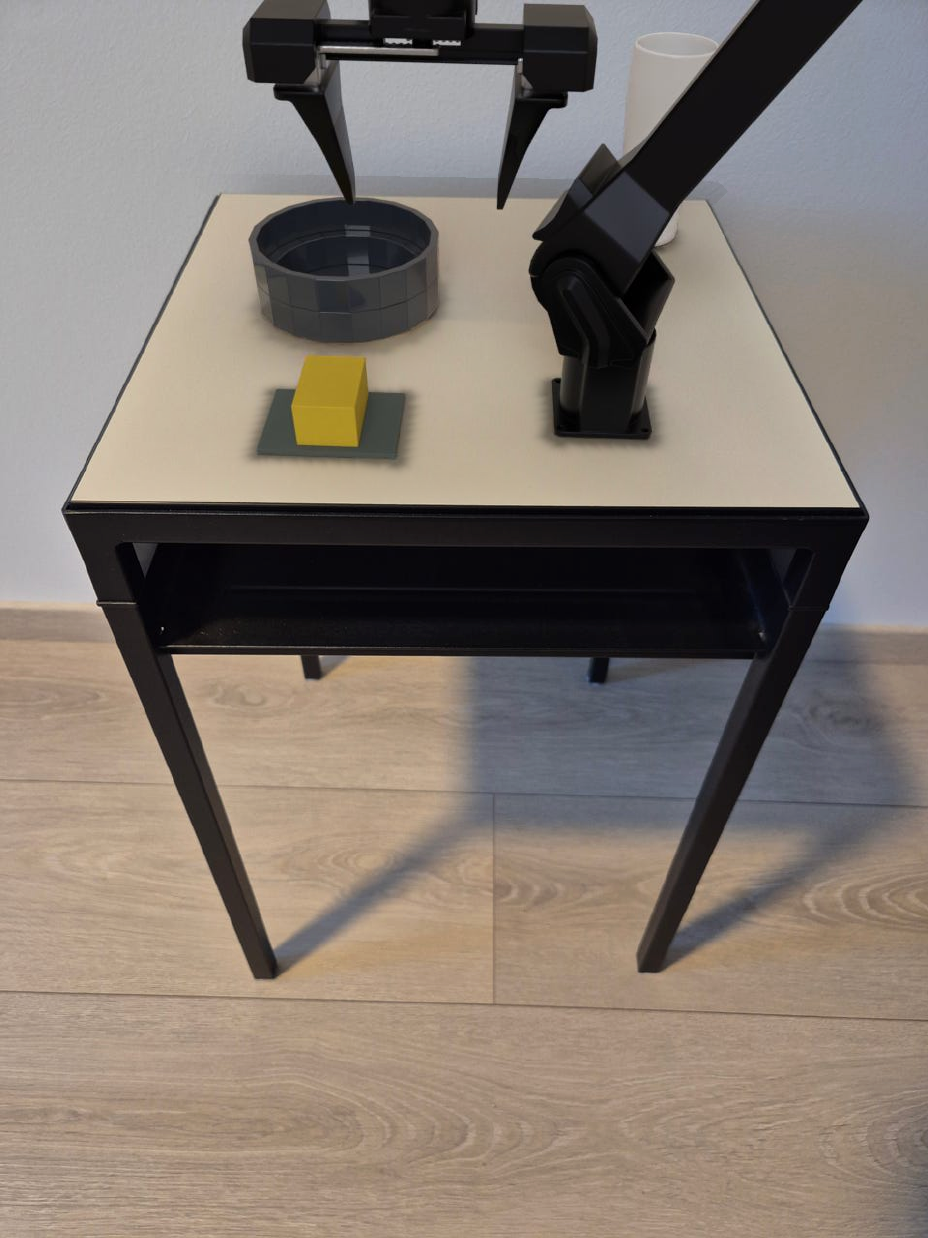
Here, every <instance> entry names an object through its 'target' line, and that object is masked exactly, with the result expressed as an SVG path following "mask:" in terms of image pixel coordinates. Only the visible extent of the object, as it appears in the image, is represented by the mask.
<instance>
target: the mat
mask: <svg viewBox="0 0 928 1238" xmlns="http://www.w3.org/2000/svg"><path fill="white" fill-rule="evenodd" d="M295 391H296V389H293V388H292V389H290V388H289V389H287V388H276V390H275V393H274V396H273V399H272V402H271V404H270V407H269V411H268V414H267V416H266V420H265V423H264V426H263V428H262V432H261V435H260V437H259V441H258V444H257V447H256V454H257V455H269V456H270V455H271V456H272V455H273V456H300V457H326V458H327V457H328V458H353V459H354V458H358V459H385V460H386V459H388V460H396V459H397V453H398V448H399V447H398V446H399V441H400V434H401V429H402V421H403V414H404V407H405V400H406V394H405V393H404V392H383V391H382V392H379V391H378V392H377V391H368V394H369V395H368V400H367V405H366V410H365V415H364V420H363V425H362V430H361V435H360V440H359V445H358V447H345V446H316V445H297V441H296V435H295V428H294V422H293V416H292V409H291V405H292V401H293V398H294V395H295Z"/></svg>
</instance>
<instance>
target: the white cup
mask: <svg viewBox="0 0 928 1238" xmlns="http://www.w3.org/2000/svg"><path fill="white" fill-rule="evenodd" d="M719 46H720V44H719V43H718V42H716V41H715V40H713V39H711V38H708V37H706V36H703V35H699V34H694V33H688V32H678V31H674V32H673V31H661V32H652V33H647V34H643V35H640V36H639V37H637V38H636V39H635V40H634V43H633V48H632V55H631V60H630V66H629V73H628V78H627V87H626V88H627V89H626V96H625V107H624V120H623V121H624V123H623V137H622V138H623V140H622V156H621V158H622V157H623V156H624V155H626V154H627V153H628V152H629V151H631V150H632V149H633V148H635V147H636V146H637V145H638V144H640V143H641V142H642V141H643V140H644V139H645V138H646V137H647V136H648V135H649V133H650V132H651V131H652V130H653V128H654V127H655V126H656V125H657V123H658V122H659V121H660V120H661V118H662V117H663V116H664V115H665V113H666V112H667V111H668V110H669V108H670V107H671V106H672V105H673V103H674V102H675V101H676V100H677V98H678V97H679V96H680V95H681V93H682V92H683V91H684V90H685V88H686V87H687V86H688V85H689V83H690V82H691V81H692V80H693V78H694V77H695V76H696V75H697V73H698V72H699V71H700V70H701V68H702V67H703V66H704V65H705V63H706V62H707V61H708V60H709V58H710V57H711V56H712V55H713V53H714V52H715V51H716V50H717V48H718V47H719ZM683 204H684V201H683V202H682V203H681V204H680V205H679V207H678V209H677V210H676V212H675V213H674V215H673V217H672V218H671V220H670V221H669V223H668V225H667V226H666V228H665V230H664V231H663V233H662V235H661V236H660V238H659V240H658V241H657V243H656V244H655V246H654V247H660V246H663V245H666V244H668V243H670V242H671V241H672V240H673V239H674V237H676V234H677V228H678V224H679V221H680V220H679V219H680V215H681V210H682V208H683Z"/></svg>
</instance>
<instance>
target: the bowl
mask: <svg viewBox="0 0 928 1238" xmlns="http://www.w3.org/2000/svg"><path fill="white" fill-rule="evenodd" d="M247 240H248V247H249V252H250V258H251V265H252V270H253V276H254V281H255V288H256V293H257V300H258V303H259V309H260V311H261V315H262V316H263V317H264V318H266V320H267V321H268V322H269V323H270V324H271V325H272V326H273V327H274V328H277V329H278V330H280V331H281V332H282V331H283V332H284V333H287V334H289V335H291V336H293V337H296V338H300V339H304V340H309V341H315V342H318V343H324V344H325V343H326V344H363V343H368V342H370V343H371V342H374V341H381V340H385V339H389V338H392V337H394V336H398V335H401V334H404V333H407V332H410V331H411V330H413V329H415V328H416V327H418V326H419V325H421V324H423V323H424V322H426V321H428V320H429V318H430V316H431V315H432V314H433V313H434V312H435V310H436V309H437V308H438V307H439V300H440V291H441V290H440V232H439V230H438V228H437V226H436V224H435V223H434V221H433V219H431V218H430V217H428V216H427V215H426V214H424V213H423V212H421V211H420V210H418V209H416V208H413V207H411V206H408V205H406V204H402V203H399V202H398V201H394V200H393V201H392V200H387V199H382V198H375V197H365V196H364V197H363V196H362V197H361V196H356V200H355V203H354V205H348V204H347V203H346V200H345V198H344V196H335V197H326V198H317V199H310V200H307V201H303V202H298V203H295V204H294V203H293V204H291V205H288V206H286V207H283V208H281V209H279V210H276V211H274V212H271V213H270V214H267V215H266V216H265V217H264V218H263V219H262V220H260V221H259V222H258V223H257V224H255V225H254V226H253V229H252V230H251V233H250V235H249V236H248V239H247Z"/></svg>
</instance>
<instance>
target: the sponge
mask: <svg viewBox="0 0 928 1238" xmlns="http://www.w3.org/2000/svg"><path fill="white" fill-rule="evenodd" d="M298 378H299V379H298V382H297V384H296V388H295V390H296V391H295V395H294V398H293V401H292V405H291V409H292V416H293V422H294V428H295V435H296V441H297V445H316V446H345V447H358V445H359V440H360V435H361V430H362V425H363V420H364V415H365V410H366V405H367V400H368V395H369V394H368V392H369V384H368V370H367V359H366V357H365V356H348V355H347V356H346V355H319V354H318V355H315V354H314V355H313V354H306V355H305V359H304V362H303V365H302V368H301V371H300V376H299V377H298Z"/></svg>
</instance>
